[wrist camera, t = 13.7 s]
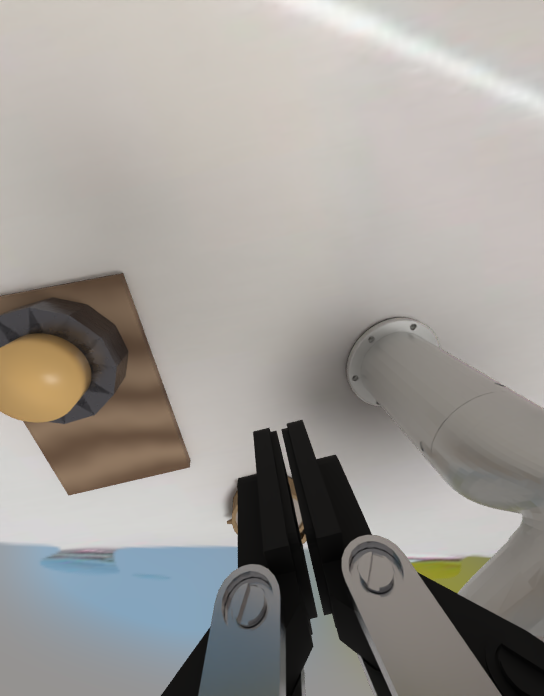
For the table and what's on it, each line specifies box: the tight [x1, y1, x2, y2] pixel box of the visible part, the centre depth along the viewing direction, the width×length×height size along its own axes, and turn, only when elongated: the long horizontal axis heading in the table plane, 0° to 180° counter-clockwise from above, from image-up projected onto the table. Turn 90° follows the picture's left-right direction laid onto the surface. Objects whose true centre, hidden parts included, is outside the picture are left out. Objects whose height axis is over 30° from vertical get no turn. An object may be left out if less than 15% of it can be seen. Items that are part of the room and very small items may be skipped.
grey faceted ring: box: [0, 297, 129, 424], centre depth 31 cm, size 12×12×4 cm
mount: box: [0, 273, 190, 495], centre depth 35 cm, size 26×16×1 cm, turn 9°
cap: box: [0, 333, 91, 423], centre depth 29 cm, size 8×8×7 cm
